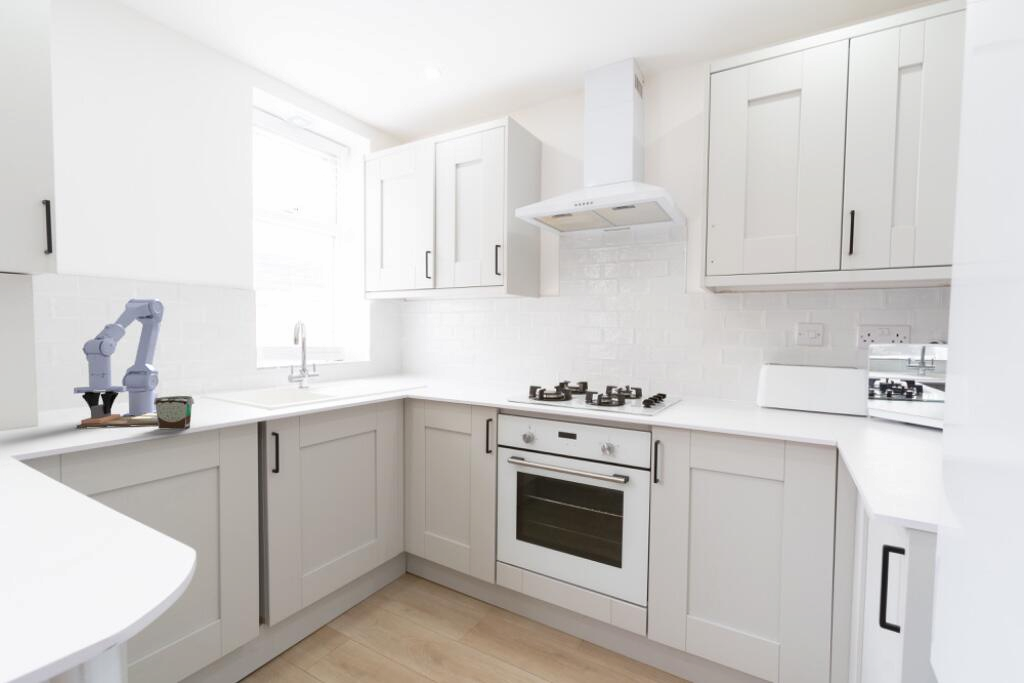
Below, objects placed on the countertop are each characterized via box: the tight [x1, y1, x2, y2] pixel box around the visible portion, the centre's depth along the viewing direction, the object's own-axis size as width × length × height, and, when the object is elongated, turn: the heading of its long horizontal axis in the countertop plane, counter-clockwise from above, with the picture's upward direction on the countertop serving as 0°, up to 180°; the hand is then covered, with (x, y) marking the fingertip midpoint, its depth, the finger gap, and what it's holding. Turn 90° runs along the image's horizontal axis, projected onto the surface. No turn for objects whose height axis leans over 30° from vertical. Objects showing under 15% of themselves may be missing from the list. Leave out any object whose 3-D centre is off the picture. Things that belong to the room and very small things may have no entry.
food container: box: [154, 395, 195, 430], centre depth 152 cm, size 12×6×10 cm, turn 84°
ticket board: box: [76, 412, 158, 429], centre depth 159 cm, size 14×25×2 cm, turn 101°
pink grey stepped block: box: [80, 403, 121, 424], centre depth 157 cm, size 10×6×5 cm, turn 11°
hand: (101, 413), depth 157 cm, fingers closed on pink grey stepped block, 3 cm apart
